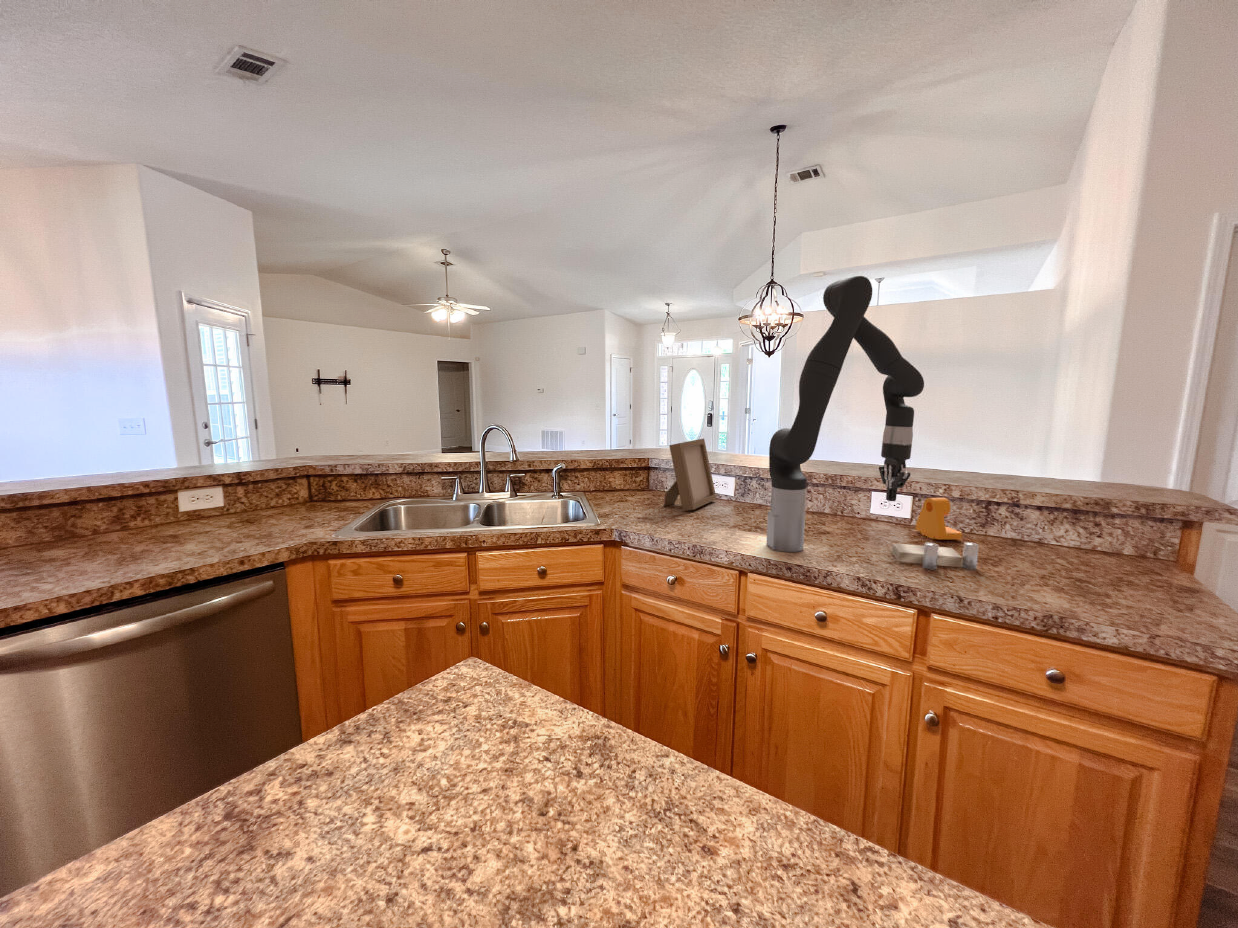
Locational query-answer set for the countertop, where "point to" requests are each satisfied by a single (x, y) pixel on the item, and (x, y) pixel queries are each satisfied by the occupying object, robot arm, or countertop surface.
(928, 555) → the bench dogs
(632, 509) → the countertop surface
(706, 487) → the photo frame
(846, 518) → the countertop surface
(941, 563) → the cream curved panel
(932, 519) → the bracket
